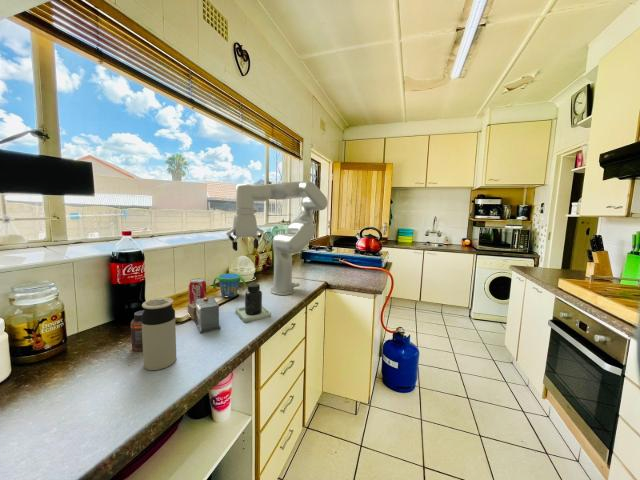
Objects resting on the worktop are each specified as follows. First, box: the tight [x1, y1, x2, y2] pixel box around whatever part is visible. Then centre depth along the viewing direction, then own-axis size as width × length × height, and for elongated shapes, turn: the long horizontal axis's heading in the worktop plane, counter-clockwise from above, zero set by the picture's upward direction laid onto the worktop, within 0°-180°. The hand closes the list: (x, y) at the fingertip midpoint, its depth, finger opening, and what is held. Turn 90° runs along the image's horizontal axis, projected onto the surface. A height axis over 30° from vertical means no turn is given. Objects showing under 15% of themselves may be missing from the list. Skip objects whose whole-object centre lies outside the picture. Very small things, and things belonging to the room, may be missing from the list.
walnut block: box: [187, 303, 197, 321], centre depth 104 cm, size 5×5×5 cm
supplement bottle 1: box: [130, 309, 144, 352], centre depth 81 cm, size 6×6×11 cm
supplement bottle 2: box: [244, 282, 263, 316], centre depth 108 cm, size 7×7×12 cm
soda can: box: [188, 277, 207, 305], centre depth 114 cm, size 7×7×12 cm
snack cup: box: [212, 272, 247, 298], centre depth 129 cm, size 16×10×10 cm
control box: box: [194, 296, 222, 334], centre depth 97 cm, size 7×11×10 cm, turn 34°
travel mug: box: [141, 297, 177, 371], centre depth 73 cm, size 8×8×18 cm
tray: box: [235, 304, 272, 323], centre depth 108 cm, size 11×11×2 cm
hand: (245, 249), depth 119 cm, fingers open, 9 cm apart
